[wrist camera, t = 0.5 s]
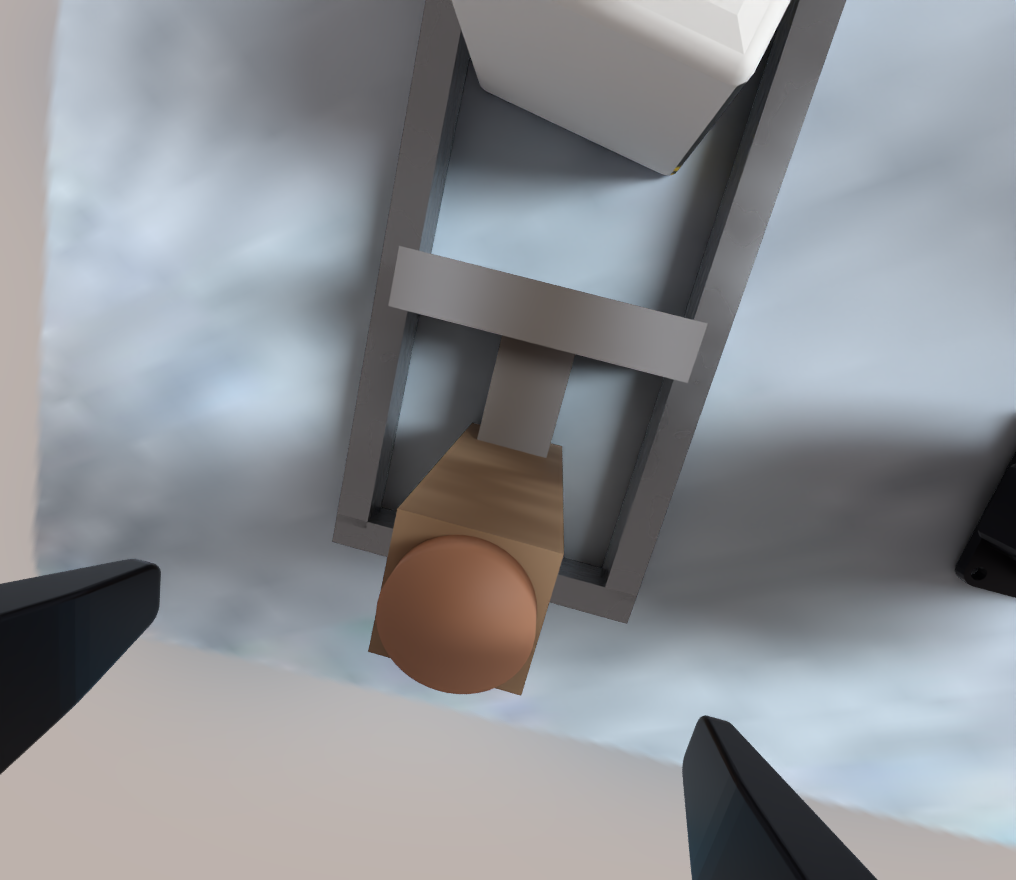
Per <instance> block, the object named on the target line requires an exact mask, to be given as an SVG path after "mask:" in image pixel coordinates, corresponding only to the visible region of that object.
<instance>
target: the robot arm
mask: <svg viewBox="0 0 1016 880" xmlns="http://www.w3.org/2000/svg"><path fill="white" fill-rule="evenodd" d="M976 568H978V569H977V571H976V572H975V573H974V574H972V575H971V573H972V571H973V570H974V569H976ZM955 572H956V575H957V576H958V578H960V579H961V580H963V581H964V582H966V583H967V584H969V585H971V586H974V587H978V588H982V589H986V590H989V591H993V592H997V593H1000V594H1004V595H1008V596H1012V597H1015V598H1016V452H1015V454H1014V456H1013V458H1012V460H1011V462H1010V464H1009V466H1008V467H1007V469H1006V471H1005V473H1004V475H1003V477H1002V479H1001V481H1000V483H999V485H998V486H997V488H996V490H995V492H994V494H993V496H992V498H991V500H990V502H989V504H988V506H987V507H986V509H985V511H984V513H983V515H982V517H981V519H980V521H979V523H978V525H977V527H976V528H975V530H974V532H973V534H972V536H971V538H970V540H969V542H968V544H967V546H966V547H965V549H964V551H963V553H962V555H961V557H960V559H959V561H958V563H957V565H956V568H955ZM160 581H161V571H160V569H159V567H158V566H157V565H156V564H153V563H150V562H146V561H142V560H139V559H127V560H122V561H117V562H111V563H106V564H101V565H96V566H91V567H85V568H80V569H75V570H70V571H65V572H60V573H54V574H49V575H44V576H39V577H34V578H29V579H23V580H19V581H13V582H8V583H3V584H0V774H1V773H2V772H4V771H5V770H6V769H7V768H8V767H9V766H10V765H11V764H12V763H13V762H14V761H16V759H18V758H19V757H20V756H21V755H22V754H23V753H24V752H25V751H26V750H28V749H29V748H30V747H31V746H32V745H33V744H34V743H35V742H36V741H37V740H38V739H39V738H41V737H42V736H43V735H44V734H45V733H46V732H47V731H48V730H49V729H50V728H51V727H53V726H54V725H55V724H56V723H57V722H58V721H59V720H60V719H61V718H62V717H63V716H64V715H65V714H66V713H67V712H69V711H70V710H71V709H72V708H73V707H74V706H75V705H76V704H77V703H78V702H79V701H80V700H81V699H82V698H83V696H84V695H85V694H86V693H87V692H88V691H89V690H90V689H91V688H92V687H93V686H94V685H95V684H96V683H97V682H98V681H99V680H100V679H101V677H102V676H103V675H104V674H105V673H106V672H107V671H108V670H109V669H110V668H111V667H112V666H113V665H114V663H115V662H116V661H117V660H118V659H119V658H120V657H121V656H122V655H123V654H124V653H125V652H126V651H127V649H128V648H129V647H130V646H131V645H132V644H133V643H134V642H135V641H136V640H137V639H138V638H139V637H140V635H141V634H142V633H143V632H144V631H145V630H146V629H147V628H148V627H149V626H150V625H151V623H152V622H153V621H154V619H155V618H156V616H157V613H158V610H159V603H160ZM682 772H683V773H682V774H683V786H684V796H685V807H686V819H687V830H688V842H689V852H690V864H691V874H692V880H877V879H876V878H875V876H874V875H872V873H871V872H870V871H869V870H868V869H867V868H866V867H865V866H864V865H863V864H862V863H861V862H860V860H859V859H858V858H857V857H856V856H855V855H854V854H853V853H852V852H851V851H850V850H849V849H848V848H847V847H846V846H845V845H844V844H843V842H842V841H841V840H840V839H839V838H838V837H837V836H836V835H835V834H834V833H833V832H832V831H831V830H830V828H829V827H828V826H827V825H826V824H825V823H824V822H823V821H822V820H821V819H820V818H819V817H818V816H817V815H816V814H815V812H814V811H813V810H812V809H811V808H810V807H809V806H808V805H807V804H806V803H805V802H804V801H803V800H802V799H801V798H800V796H799V795H798V794H797V793H796V792H795V791H794V790H793V789H792V788H791V787H790V786H789V785H788V784H787V783H786V782H785V780H784V779H783V778H782V777H781V776H780V775H779V774H778V773H777V772H776V771H775V770H774V769H773V768H772V767H771V766H770V764H769V763H768V762H767V761H766V760H765V759H764V758H763V757H762V756H761V755H760V754H759V753H758V752H757V751H756V750H755V748H754V747H753V746H752V745H751V744H750V743H749V742H748V741H747V740H746V739H745V738H744V737H743V736H742V735H741V734H740V732H739V731H738V730H737V729H736V728H735V727H734V726H733V725H732V724H731V723H729V722H727V721H725V720H721V719H717V718H714V717H710V716H706V715H705V716H702V717H700V719H699V720H698V722H697V724H696V726H695V729H694V732H693V734H692V737H691V740H690V742H689V745H688V747H687V750H686V753H685V756H684V760H683V767H682Z"/></svg>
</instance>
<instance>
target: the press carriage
mask: <svg viewBox="0 0 1016 880" xmlns="http://www.w3.org/2000/svg"><path fill="white" fill-rule="evenodd" d="M388 306H390V307H394V308H398V309H402V310H406V311H410V312H414V313H418V314H422V315H425V316H429V317H433V318H437V319H441V320H445V321H449V322H453V323H456V324H460V325H464V326H468V327H472V328H476V329H480V330H484V331H488V332H491V333H495V334H499V335H502V337H501V342H500V346H499V350H498V354H497V358H496V362H495V367H494V371H493V375H492V379H491V383H490V388H489V392H488V396H487V400H486V404H485V408H484V413H483V417H482V421H481V425H480V424H476V423H472V424H471V425H470V426H469V427H468V428H467V429H466V431H465V432H464V433H463V434H462V435H461V436H460V437H459V439H458V440H457V441H456V442H455V443H454V444H453V445H452V447H451V448H450V449H449V450H448V451H447V452H446V453H445V455H444V456H443V457H442V458H441V459H440V460H439V461H438V463H437V464H436V465H435V466H434V467H433V468H432V470H431V471H430V472H429V473H428V474H427V475H426V476H425V478H424V479H423V480H422V481H421V482H420V483H419V484H418V486H417V487H416V488H415V489H414V490H413V491H412V492H411V494H410V495H409V496H408V497H407V498H406V499H405V500H404V502H403V503H402V504H401V505H400V506H399V507H398V508H397V513H396V518H395V523H394V528H393V533H392V538H391V543H390V548H389V552H388V557H387V562H386V567H385V572H384V577H383V582H382V587H381V592H380V595H379V599H378V602H377V609H376V616H375V621H374V626H373V631H372V636H371V640H370V645H369V650H368V652H371V653H374V654H378V655H381V656H385V657H388V658H391V659H392V660H393V662H394V663H395V664H396V665H397V666H398V667H399V668H400V669H401V670H402V671H403V672H404V673H406V674H407V675H408V676H409V677H411V678H412V679H414V680H415V681H417V682H419V683H421V684H423V685H425V686H427V687H429V688H432V689H435V690H438V691H442V692H446V693H453V694H473V693H480V692H484V691H488V690H490V689H493V688H496V689H500V690H503V691H507V692H510V693H514V694H517V695H521V694H522V691H523V688H524V684H525V681H526V678H527V674H528V671H529V668H530V664H531V661H532V658H533V655H534V651H535V648H536V645H537V641H538V638H539V635H540V631H541V628H542V625H543V622H544V618H545V615H546V612H547V608H548V605H549V602H550V598H551V595H552V592H553V588H554V585H555V582H556V579H557V575H558V572H559V569H560V565H561V562H562V559H563V555H564V529H563V466H562V446H559V445H555V444H551V440H552V436H553V433H554V429H555V426H556V422H557V418H558V415H559V411H560V408H561V404H562V400H563V397H564V393H565V390H566V386H567V382H568V379H569V375H570V372H571V368H572V364H573V361H574V357H575V354H577V355H581V356H585V357H588V358H592V359H596V360H600V361H604V362H608V363H612V364H616V365H620V366H623V367H627V368H631V369H635V370H639V371H643V372H647V373H651V374H654V375H658V376H662V377H666V378H670V379H674V380H678V381H682V382H686V383H688V380H689V378H690V375H691V372H692V369H693V366H694V363H695V360H696V357H697V354H698V351H699V348H700V345H701V342H702V339H703V336H704V333H705V330H706V327H707V323H703V322H699V321H695V320H691V319H687V318H683V317H679V316H676V315H672V314H668V313H664V312H660V311H656V310H652V309H648V308H644V307H640V306H636V305H632V304H628V303H624V302H620V301H616V300H612V299H608V298H604V297H600V296H596V295H592V294H588V293H584V292H580V291H576V290H572V289H569V288H565V287H561V286H557V285H553V284H549V283H545V282H541V281H537V280H533V279H529V278H525V277H521V276H517V275H513V274H509V273H505V272H501V271H497V270H493V269H489V268H485V267H481V266H477V265H473V264H469V263H465V262H462V261H458V260H454V259H450V258H446V257H442V256H438V255H434V254H430V253H426V252H422V251H418V250H414V249H410V248H406V247H402V246H399V250H398V255H397V261H396V266H395V272H394V277H393V283H392V288H391V294H390V300H389V305H388Z"/></svg>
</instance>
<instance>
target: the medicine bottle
mask: <svg viewBox="0 0 1016 880" xmlns="http://www.w3.org/2000/svg"><path fill="white" fill-rule="evenodd" d="M790 1H791V0H452V3H453V6H454V9H455V12H456V15H457V18H458V21H459V24H460V27H461V30H462V33H463V36H464V39H465V42H466V45H467V48H468V51H469V54H470V57H471V60H472V63H473V65H474V68H475V71H476V74H477V77H478V80H479V83H480V86H481V87H482V88H483V89H484V90H485V91H487V92H489V93H491V94H493V95H495V96H497V97H499V98H501V99H503V100H506V101H508V102H510V103H512V104H514V105H516V106H518V107H520V108H523V109H525V110H527V111H529V112H531V113H533V114H535V115H537V116H540V117H542V118H544V119H546V120H548V121H550V122H552V123H554V124H556V125H559V126H561V127H563V128H565V129H567V130H569V131H571V132H573V133H576V134H578V135H580V136H582V137H584V138H586V139H588V140H590V141H592V142H595V143H597V144H599V145H601V146H603V147H605V148H607V149H609V150H612V151H614V152H616V153H618V154H620V155H622V156H624V157H626V158H629V159H631V160H633V161H635V162H637V163H639V164H641V165H643V166H645V167H648V168H650V169H652V170H654V171H656V172H658V173H660V174H662V175H667V176H670V175H673V174H675V173H676V172H677V171H678V170H679V168H680V167H681V166H682V165H683V163H684V162H685V161H686V159H687V158H688V157H689V156H690V154H691V153H692V152H693V151H694V149H695V148H696V147H697V145H698V144H699V143H700V142H701V140H702V139H703V138H704V136H705V135H706V134H707V133H708V131H709V130H710V129H711V127H712V126H713V125H714V124H715V122H716V121H717V120H718V118H719V117H720V116H721V115H722V113H723V112H724V111H725V110H726V108H727V107H728V106H729V104H730V103H731V102H732V101H733V99H734V98H735V97H736V95H737V94H738V93H739V92H740V90H741V89H742V88H743V86H744V85H745V84H746V83H747V81H748V80H749V79H750V77H751V76H752V75H753V74H754V72H755V70H756V68H757V66H758V64H759V62H760V60H761V58H762V56H763V54H764V52H765V50H766V48H767V46H768V44H769V42H770V40H771V38H772V36H773V34H774V32H775V30H776V28H777V26H778V24H779V22H780V20H781V18H782V16H783V14H784V13H785V11H786V9H787V7H788V5H789V3H790Z"/></svg>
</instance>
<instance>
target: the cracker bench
mask: <svg viewBox="0 0 1016 880" xmlns="http://www.w3.org/2000/svg"><path fill="white" fill-rule="evenodd" d="M845 2H846V0H791V1H790V3H789V5H788V7H787V9H786V11H785V13H784V14H783V16H782V18H781V20H780V23H779V26H778V30H777V33H776V36H775V39H774V42H773V45H772V48H771V51H770V54H769V57H768V60H767V63H766V66H765V69H764V72H763V76H762V79H761V82H760V85H759V88H758V91H757V94H756V97H755V100H754V103H753V106H752V109H751V112H750V115H749V118H748V121H747V125H746V128H745V131H744V134H743V137H742V140H741V143H740V146H739V149H738V152H737V155H736V158H735V161H734V164H733V167H732V171H731V174H730V177H729V180H728V183H727V186H726V189H725V192H724V195H723V198H722V201H721V204H720V207H719V210H718V213H717V217H716V220H715V223H714V226H713V229H712V232H711V235H710V238H709V241H708V244H707V247H706V250H705V253H704V256H703V259H702V262H701V266H700V269H699V272H698V275H697V278H696V281H695V284H694V287H693V290H692V293H691V296H690V299H689V302H688V305H687V308H686V312H685V315H684V318H687V319H691V320H695V321H699V322H703V323H707V327H706V330H705V333H704V336H703V339H702V342H701V345H700V348H699V351H698V354H697V357H696V360H695V363H694V366H693V369H692V372H691V375H690V378H689V380H688V383H686V382H682V381H678V380H674V379H670V378H666V377H664V379H663V382H662V385H661V388H660V391H659V394H658V397H657V400H656V403H655V407H654V410H653V413H652V416H651V419H650V422H649V425H648V428H647V431H646V434H645V437H644V440H643V443H642V446H641V449H640V452H639V456H638V459H637V462H636V465H635V468H634V471H633V474H632V477H631V480H630V483H629V486H628V489H627V492H626V495H625V498H624V502H623V505H622V508H621V511H620V514H619V517H618V520H617V523H616V526H615V529H614V532H613V535H612V538H611V541H610V544H609V547H608V551H607V554H606V557H605V560H604V563H603V566H602V568H600V567H596V566H592V565H589V564H585V563H581V562H578V561H574V560H571V559H567V558H563V559H562V562H561V565H560V569H559V572H558V575H557V579H556V582H555V585H554V588H553V592H552V595H551V598H550V602H551V603H554V604H558V605H561V606H565V607H569V608H572V609H576V610H579V611H583V612H587V613H590V614H594V615H597V616H601V617H605V618H608V619H612V620H615V621H619V622H622V623H626V624H627V622H628V619H629V617H630V614H631V611H632V608H633V605H634V602H635V600H636V597H637V594H638V591H639V588H640V585H641V583H642V580H643V577H644V574H645V571H646V568H647V565H648V563H649V560H650V557H651V554H652V551H653V548H654V546H655V543H656V540H657V537H658V534H659V531H660V528H661V526H662V523H663V520H664V517H665V514H666V511H667V509H668V506H669V503H670V500H671V497H672V494H673V491H674V489H675V486H676V483H677V480H678V477H679V474H680V472H681V469H682V466H683V463H684V460H685V457H686V454H687V452H688V449H689V446H690V443H691V440H692V437H693V435H694V432H695V429H696V426H697V423H698V420H699V417H700V415H701V412H702V409H703V406H704V403H705V400H706V398H707V395H708V392H709V389H710V386H711V383H712V380H713V378H714V375H715V372H716V369H717V366H718V363H719V361H720V358H721V355H722V352H723V349H724V346H725V344H726V341H727V338H728V335H729V332H730V329H731V326H732V324H733V321H734V318H735V315H736V312H737V309H738V307H739V304H740V301H741V298H742V295H743V292H744V289H745V287H746V284H747V281H748V278H749V275H750V272H751V270H752V267H753V264H754V261H755V258H756V255H757V252H758V250H759V247H760V244H761V241H762V238H763V235H764V233H765V230H766V227H767V224H768V221H769V218H770V215H771V213H772V210H773V207H774V204H775V201H776V198H777V196H778V193H779V190H780V187H781V184H782V181H783V178H784V176H785V173H786V170H787V167H788V164H789V161H790V159H791V156H792V153H793V150H794V147H795V144H796V141H797V139H798V136H799V133H800V130H801V127H802V124H803V122H804V119H805V116H806V113H807V110H808V107H809V105H810V102H811V99H812V96H813V93H814V90H815V87H816V85H817V82H818V79H819V76H820V73H821V70H822V68H823V65H824V62H825V59H826V56H827V53H828V50H829V48H830V45H831V42H832V39H833V36H834V33H835V31H836V28H837V25H838V22H839V19H840V16H841V13H842V11H843V8H844V5H845ZM469 57H470V54H469V51H468V48H467V45H466V42H465V39H464V36H463V33H462V30H461V27H460V24H459V21H458V18H457V15H456V12H455V9H454V6H453V3H452V0H426V2H425V8H424V14H423V19H422V25H421V31H420V37H419V43H418V48H417V54H416V60H415V66H414V72H413V77H412V83H411V89H410V95H409V101H408V106H407V112H406V118H405V124H404V130H403V135H402V141H401V147H400V153H399V158H398V164H397V170H396V176H395V182H394V187H393V193H392V199H391V205H390V211H389V216H388V222H387V228H386V234H385V240H384V245H383V251H382V257H381V263H380V269H379V274H378V280H377V286H376V292H375V298H374V303H373V309H372V315H371V321H370V327H369V332H368V338H367V344H366V350H365V356H364V361H363V367H362V373H361V379H360V385H359V390H358V396H357V402H356V408H355V414H354V419H353V425H352V431H351V437H350V443H349V448H348V454H347V460H346V466H345V472H344V477H343V483H342V489H341V495H340V501H339V506H338V512H337V518H336V524H335V530H334V535H333V541H332V542H335V543H339V544H343V545H346V546H350V547H353V548H357V549H361V550H364V551H368V552H371V553H375V554H378V555H382V556H386V557H388V552H389V548H390V543H391V538H392V533H393V528H394V523H395V518H396V513H397V512H396V511H392V510H388V509H385V508H381V507H382V502H383V497H384V491H385V486H386V481H387V476H388V471H389V466H390V461H391V456H392V451H393V445H394V440H395V435H396V430H397V425H398V420H399V415H400V410H401V405H402V399H403V394H404V389H405V384H406V379H407V374H408V369H409V364H410V359H411V354H412V348H413V343H414V338H415V333H416V328H417V323H418V318H419V314H418V313H414V312H410V311H406V310H402V309H398V308H394V307H390V306H388V305H389V300H390V294H391V288H392V283H393V277H394V272H395V266H396V261H397V255H398V250H399V246H402V247H406V248H410V249H414V250H418V251H422V252H426V253H430V254H431V251H432V246H433V241H434V236H435V231H436V226H437V221H438V216H439V211H440V205H441V200H442V195H443V190H444V185H445V180H446V175H447V170H448V165H449V159H450V154H451V149H452V144H453V139H454V134H455V129H456V124H457V119H458V113H459V108H460V103H461V98H462V93H463V88H464V83H465V78H466V73H467V68H468V62H469Z"/></svg>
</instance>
